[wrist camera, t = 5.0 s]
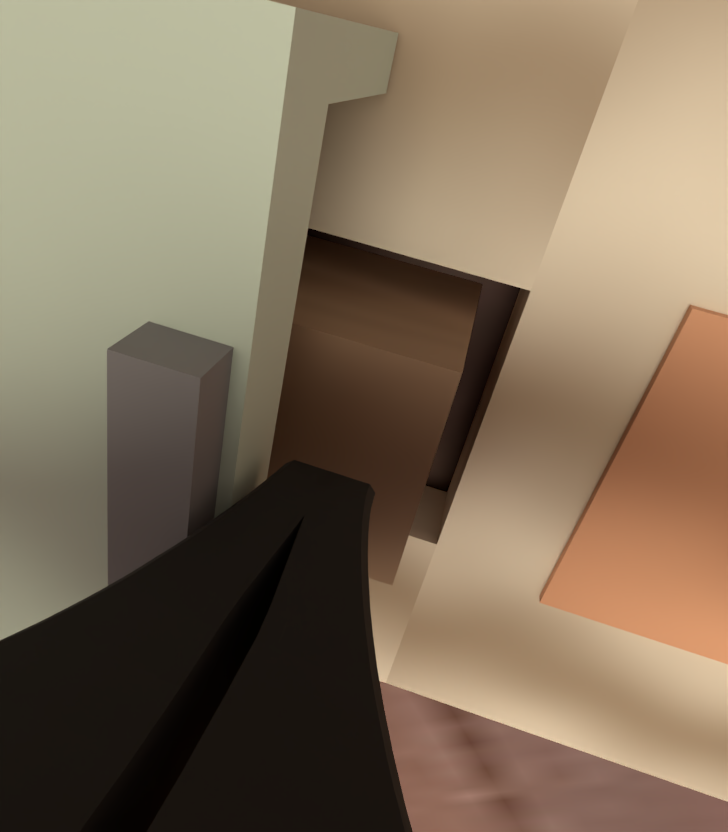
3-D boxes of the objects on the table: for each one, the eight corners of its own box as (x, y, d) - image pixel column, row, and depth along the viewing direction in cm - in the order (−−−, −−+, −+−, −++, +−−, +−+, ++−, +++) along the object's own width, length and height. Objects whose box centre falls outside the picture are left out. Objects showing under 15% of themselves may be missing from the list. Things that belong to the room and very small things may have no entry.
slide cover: (279, 606, 16) (171, 840, 11) (-11, 508, 16) (-230, 686, 12) (398, 33, 9) (259, -2, 4) (-90, -90, 10) (-650, -230, 5)
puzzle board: (783, 755, 17) (815, 839, 15) (-64, 468, 20) (-127, 511, 18) (1408, 133, 9) (1641, 151, 7) (-193, -237, 11) (-337, -297, 9)
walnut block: (427, 456, 15) (392, 585, 12) (254, 403, 16) (166, 510, 12) (482, 283, 13) (462, 373, 9) (278, 225, 13) (177, 289, 10)
